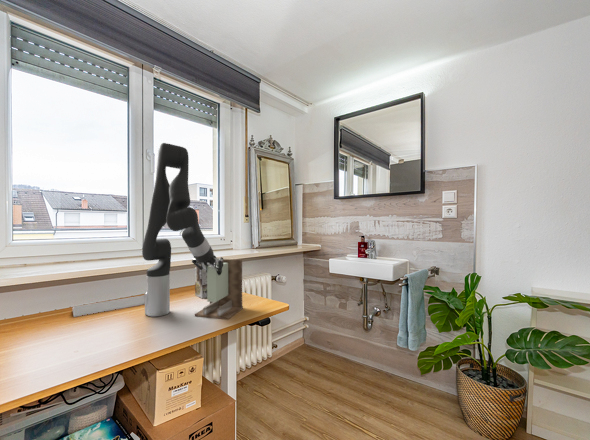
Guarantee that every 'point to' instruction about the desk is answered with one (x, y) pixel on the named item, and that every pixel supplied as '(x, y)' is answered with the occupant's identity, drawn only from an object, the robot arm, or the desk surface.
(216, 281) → the pale green rectangular block
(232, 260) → the wooden l-shaped stand
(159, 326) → the desk surface
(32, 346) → the desk surface
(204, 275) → the coffee box
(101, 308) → the decorative molding
